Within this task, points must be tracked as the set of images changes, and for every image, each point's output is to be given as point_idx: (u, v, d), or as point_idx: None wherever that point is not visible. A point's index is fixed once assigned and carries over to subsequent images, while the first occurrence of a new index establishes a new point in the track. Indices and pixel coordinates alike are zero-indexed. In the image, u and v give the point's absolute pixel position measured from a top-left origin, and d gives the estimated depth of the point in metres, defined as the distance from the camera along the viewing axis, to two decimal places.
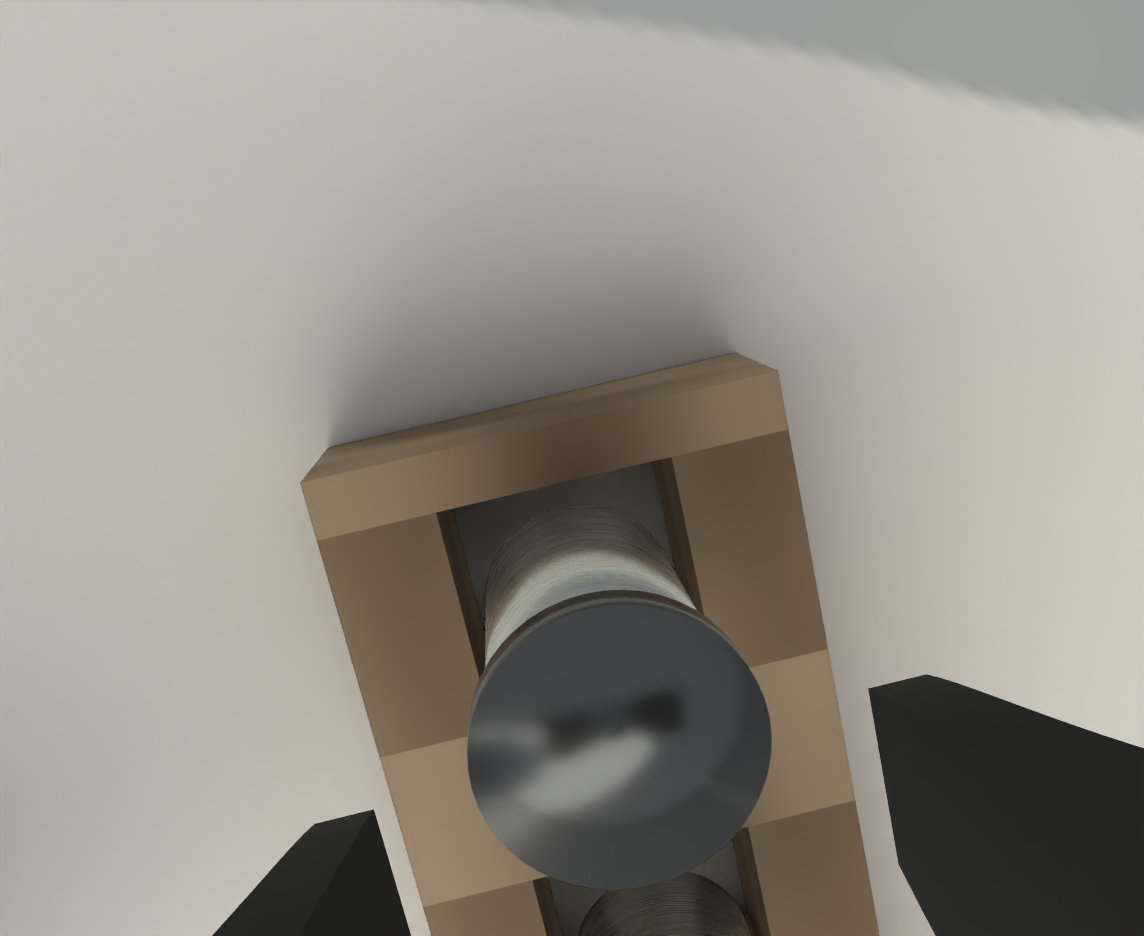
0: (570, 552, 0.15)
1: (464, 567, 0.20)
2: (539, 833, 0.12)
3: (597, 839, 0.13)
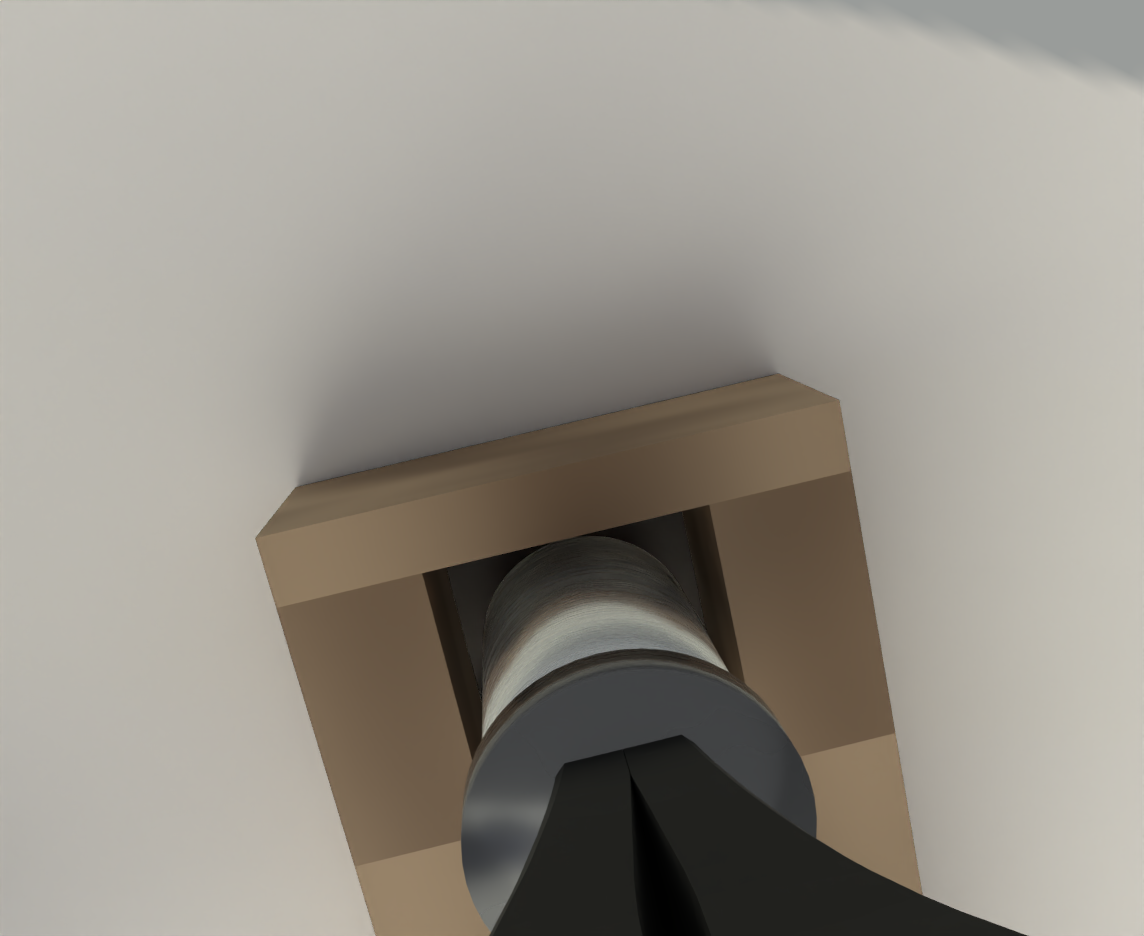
0: (579, 595, 0.13)
1: (457, 628, 0.17)
2: None
3: None
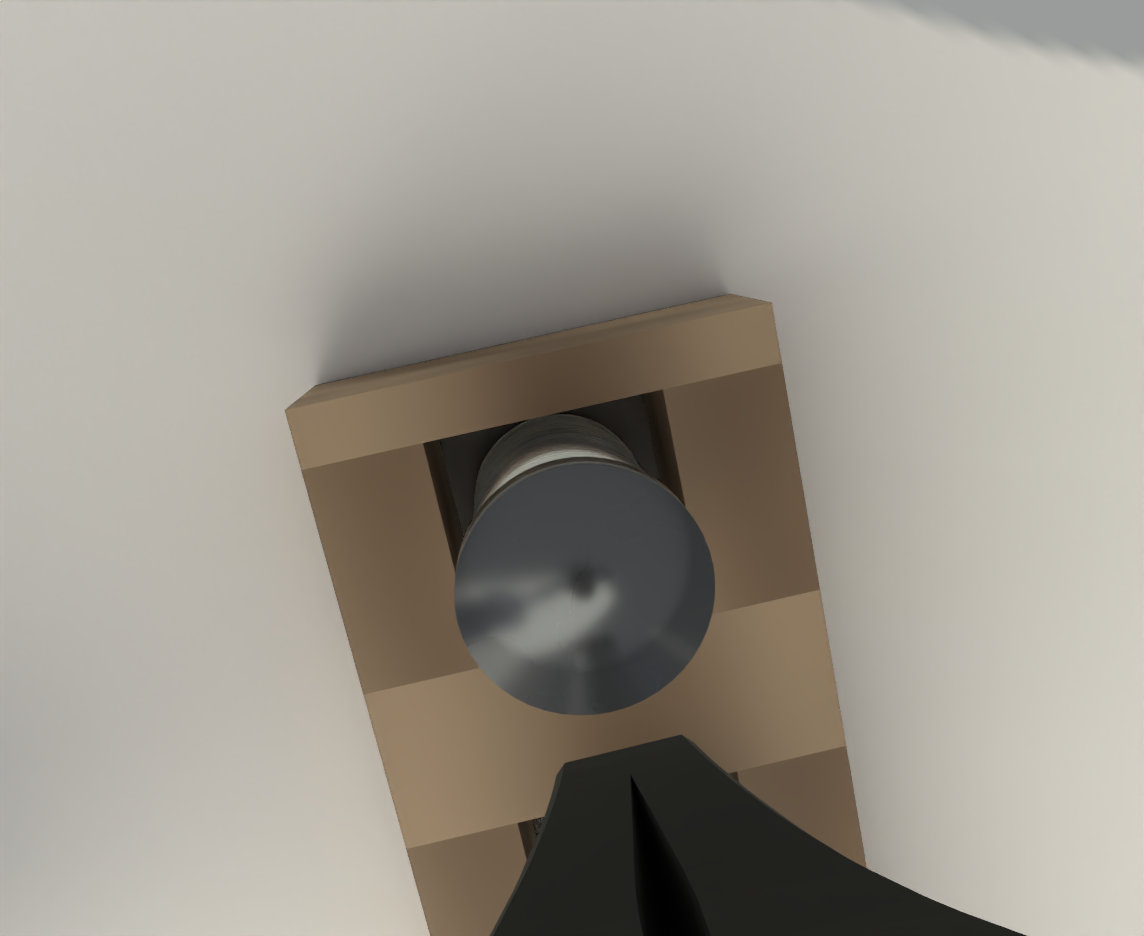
0: (547, 442, 0.17)
1: (452, 508, 0.20)
2: (514, 663, 0.15)
3: (565, 670, 0.15)
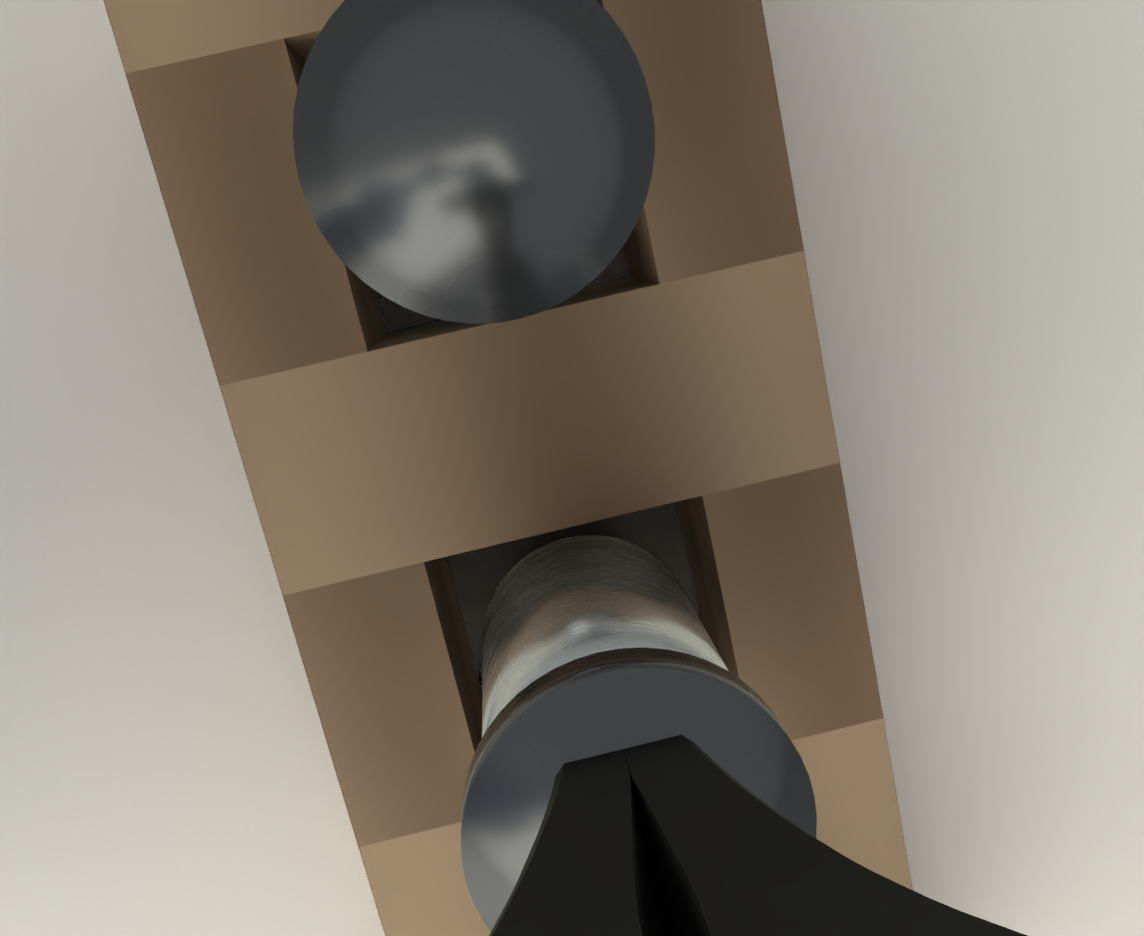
0: None
1: None
2: (382, 245, 0.11)
3: (451, 256, 0.11)
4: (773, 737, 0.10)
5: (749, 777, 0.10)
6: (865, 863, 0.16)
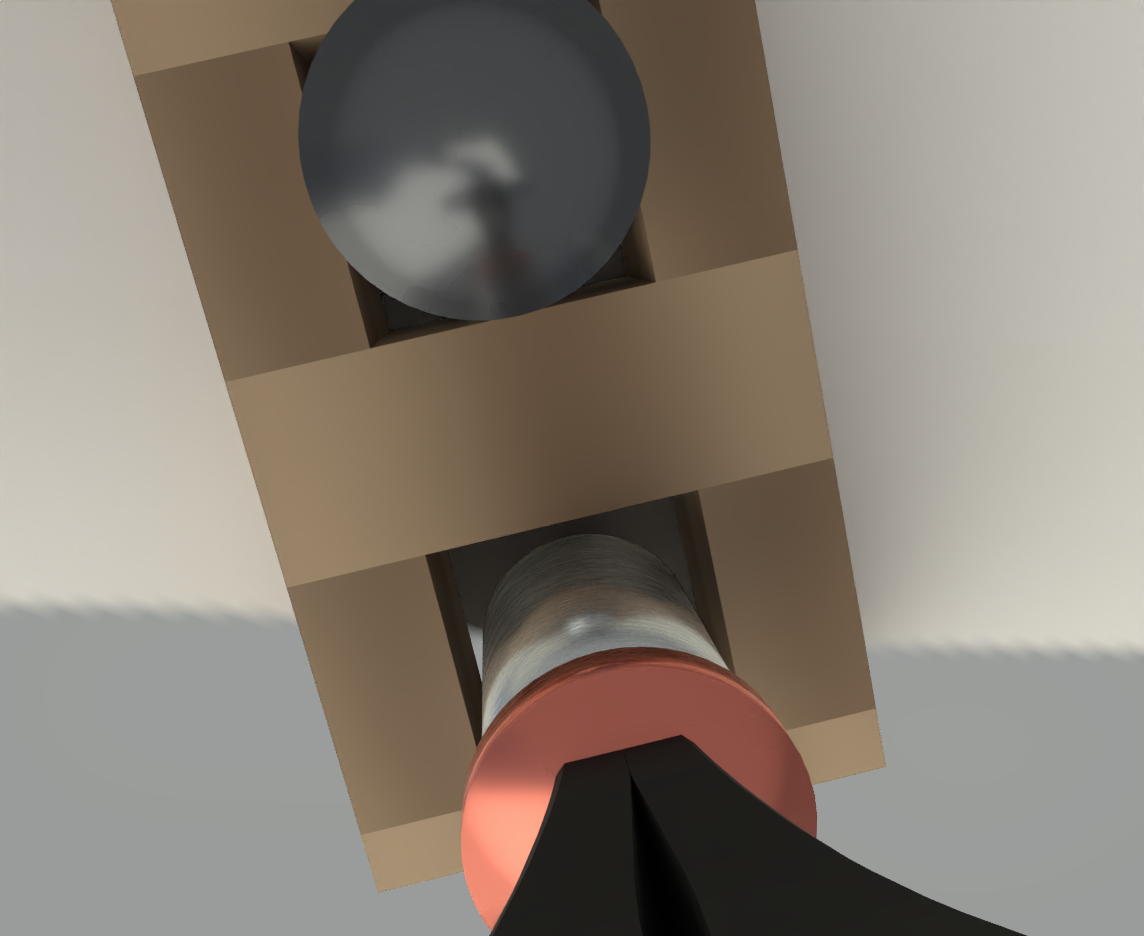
0: None
1: None
2: None
3: None
4: (604, 36, 0.11)
5: (582, 82, 0.11)
6: (781, 424, 0.15)
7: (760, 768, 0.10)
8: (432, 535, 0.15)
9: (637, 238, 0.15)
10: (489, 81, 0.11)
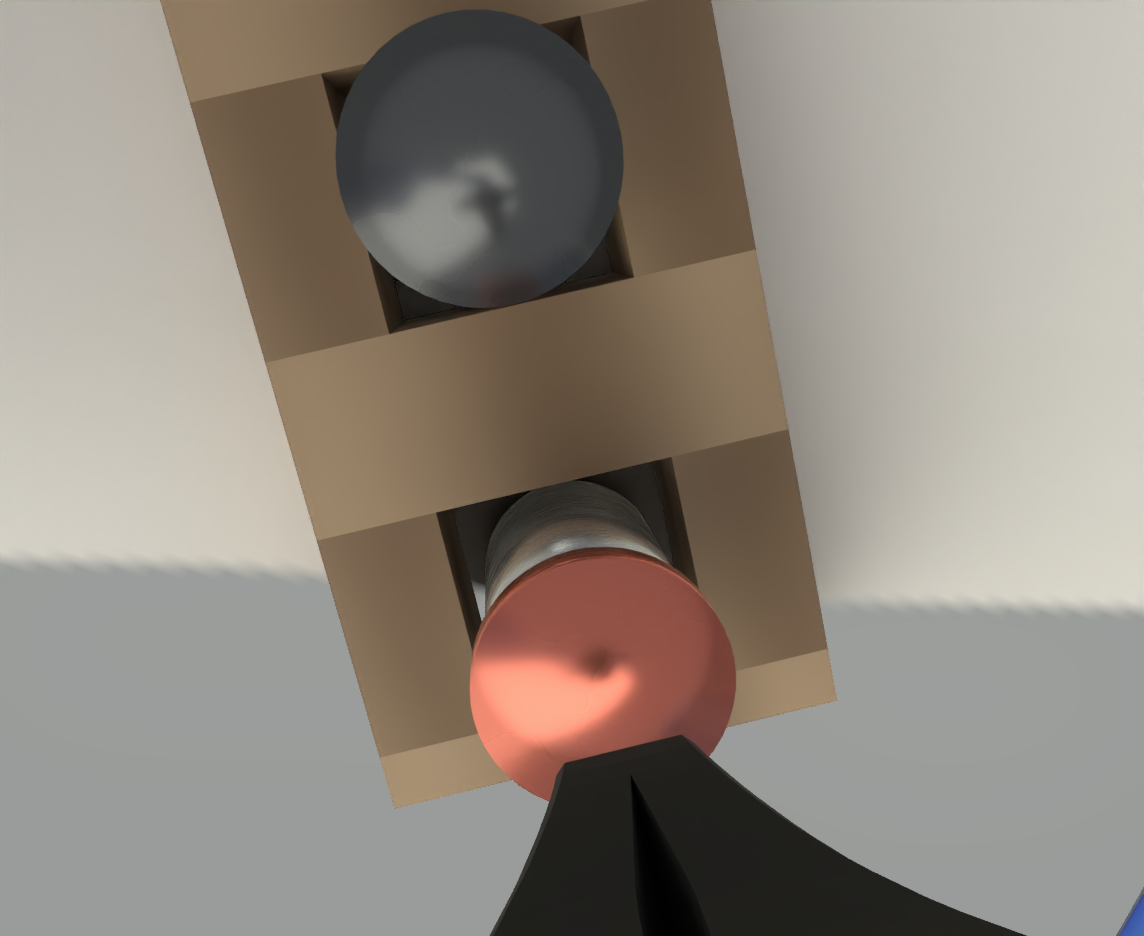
0: None
1: None
2: None
3: None
4: (585, 75, 0.13)
5: (567, 112, 0.13)
6: (743, 399, 0.17)
7: (693, 635, 0.14)
8: (442, 495, 0.17)
9: (619, 239, 0.17)
10: (491, 112, 0.13)
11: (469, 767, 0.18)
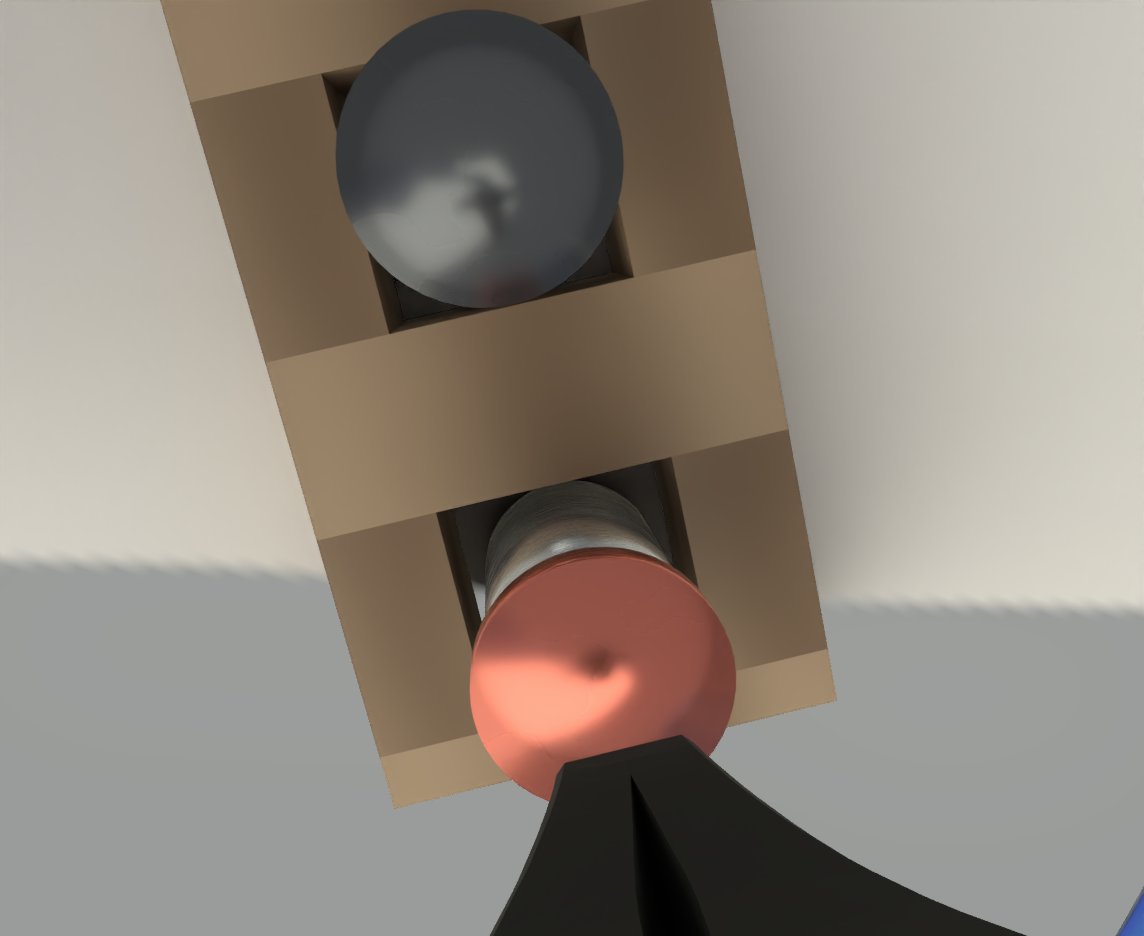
0: None
1: None
2: None
3: None
4: (585, 75, 0.13)
5: (567, 112, 0.13)
6: (743, 399, 0.17)
7: (693, 635, 0.14)
8: (442, 495, 0.17)
9: (619, 239, 0.17)
10: (491, 112, 0.13)
11: (469, 767, 0.18)
